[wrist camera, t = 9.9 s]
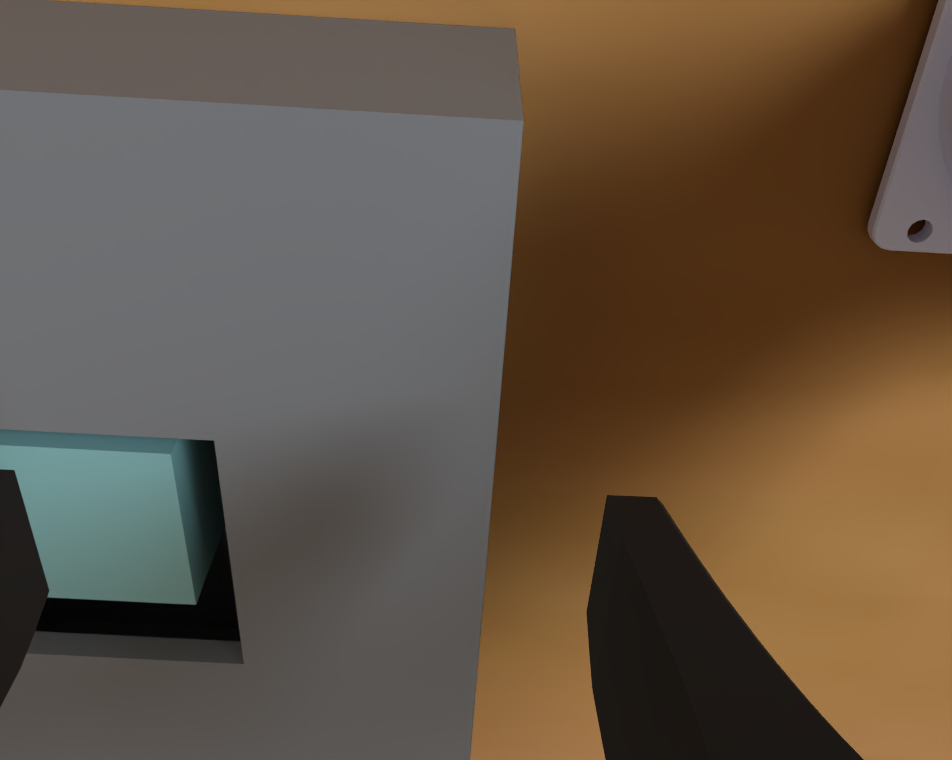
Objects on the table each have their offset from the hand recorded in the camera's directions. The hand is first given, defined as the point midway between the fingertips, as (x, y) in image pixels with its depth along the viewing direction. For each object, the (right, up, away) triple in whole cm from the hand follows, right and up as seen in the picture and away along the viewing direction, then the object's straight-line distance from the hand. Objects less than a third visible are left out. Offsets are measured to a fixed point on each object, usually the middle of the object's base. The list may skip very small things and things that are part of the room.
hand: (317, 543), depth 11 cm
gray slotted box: (-6, +2, +11) cm, 13 cm away
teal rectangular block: (-6, +2, +11) cm, 12 cm away
